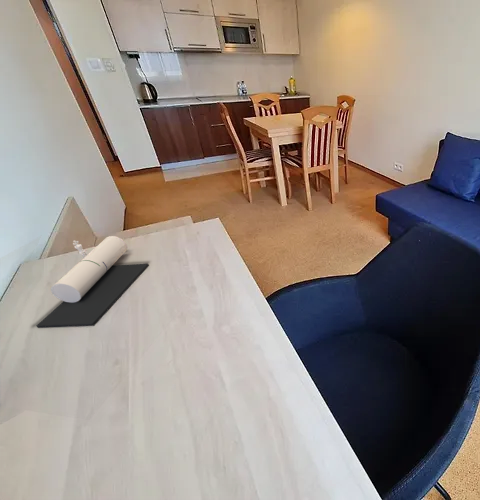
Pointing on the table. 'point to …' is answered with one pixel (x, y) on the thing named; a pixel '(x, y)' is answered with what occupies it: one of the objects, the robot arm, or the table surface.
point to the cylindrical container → (89, 270)
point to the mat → (95, 298)
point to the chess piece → (79, 248)
